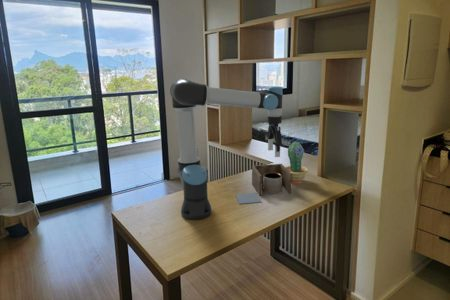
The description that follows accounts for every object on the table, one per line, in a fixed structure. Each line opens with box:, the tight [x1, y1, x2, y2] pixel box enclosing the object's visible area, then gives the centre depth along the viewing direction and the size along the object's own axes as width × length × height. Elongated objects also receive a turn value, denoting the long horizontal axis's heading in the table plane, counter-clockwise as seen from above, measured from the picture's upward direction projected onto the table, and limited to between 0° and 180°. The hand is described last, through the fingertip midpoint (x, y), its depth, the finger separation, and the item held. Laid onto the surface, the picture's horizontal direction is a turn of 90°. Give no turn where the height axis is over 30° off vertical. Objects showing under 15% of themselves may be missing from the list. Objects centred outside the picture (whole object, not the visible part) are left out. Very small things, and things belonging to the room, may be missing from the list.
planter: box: [262, 172, 283, 195], centre depth 181 cm, size 11×11×10 cm
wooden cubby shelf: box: [251, 163, 292, 197], centre depth 183 cm, size 18×18×12 cm
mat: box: [235, 192, 262, 205], centre depth 172 cm, size 12×12×1 cm
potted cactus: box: [284, 141, 309, 185], centre depth 193 cm, size 15×15×25 cm
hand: (273, 153), depth 176 cm, fingers open, 13 cm apart
